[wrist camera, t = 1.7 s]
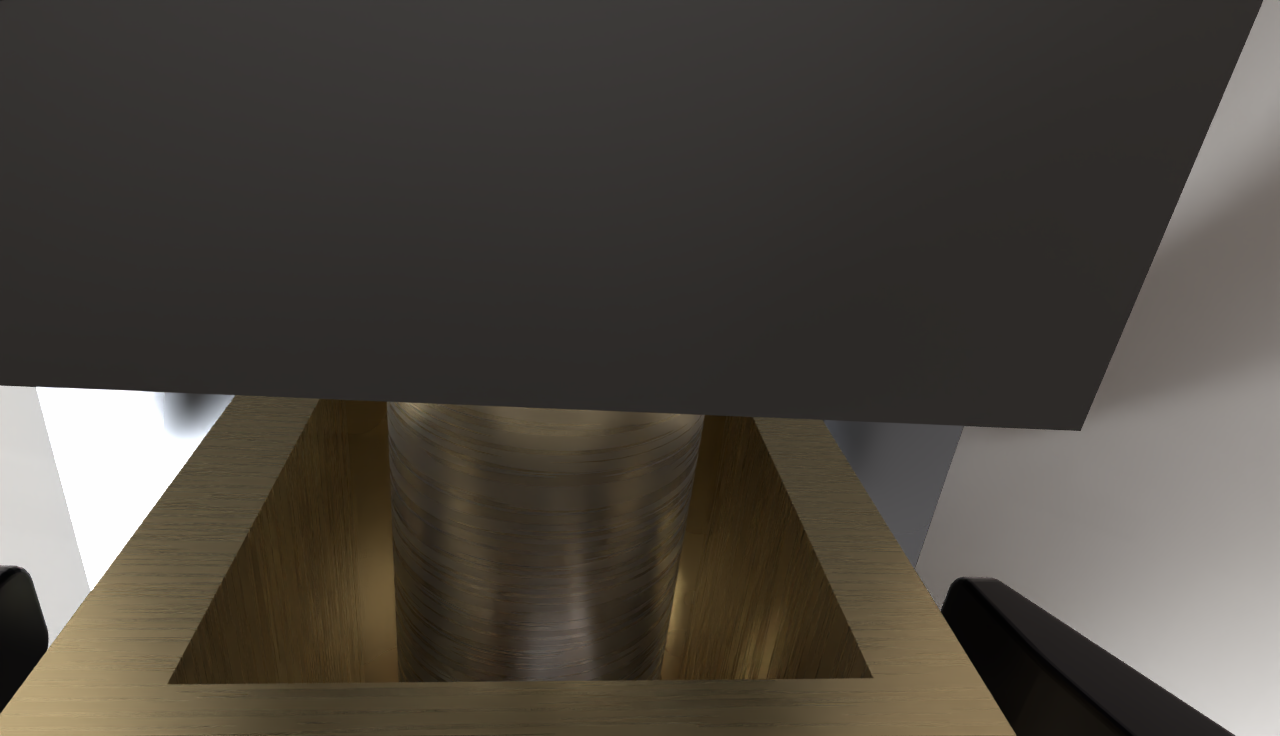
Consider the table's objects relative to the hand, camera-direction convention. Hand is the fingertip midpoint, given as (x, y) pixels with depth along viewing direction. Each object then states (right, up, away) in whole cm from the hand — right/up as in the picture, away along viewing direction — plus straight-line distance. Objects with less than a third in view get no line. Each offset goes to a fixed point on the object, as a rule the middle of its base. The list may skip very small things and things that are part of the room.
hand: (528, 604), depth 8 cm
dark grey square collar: (+1, +5, -2) cm, 5 cm away
